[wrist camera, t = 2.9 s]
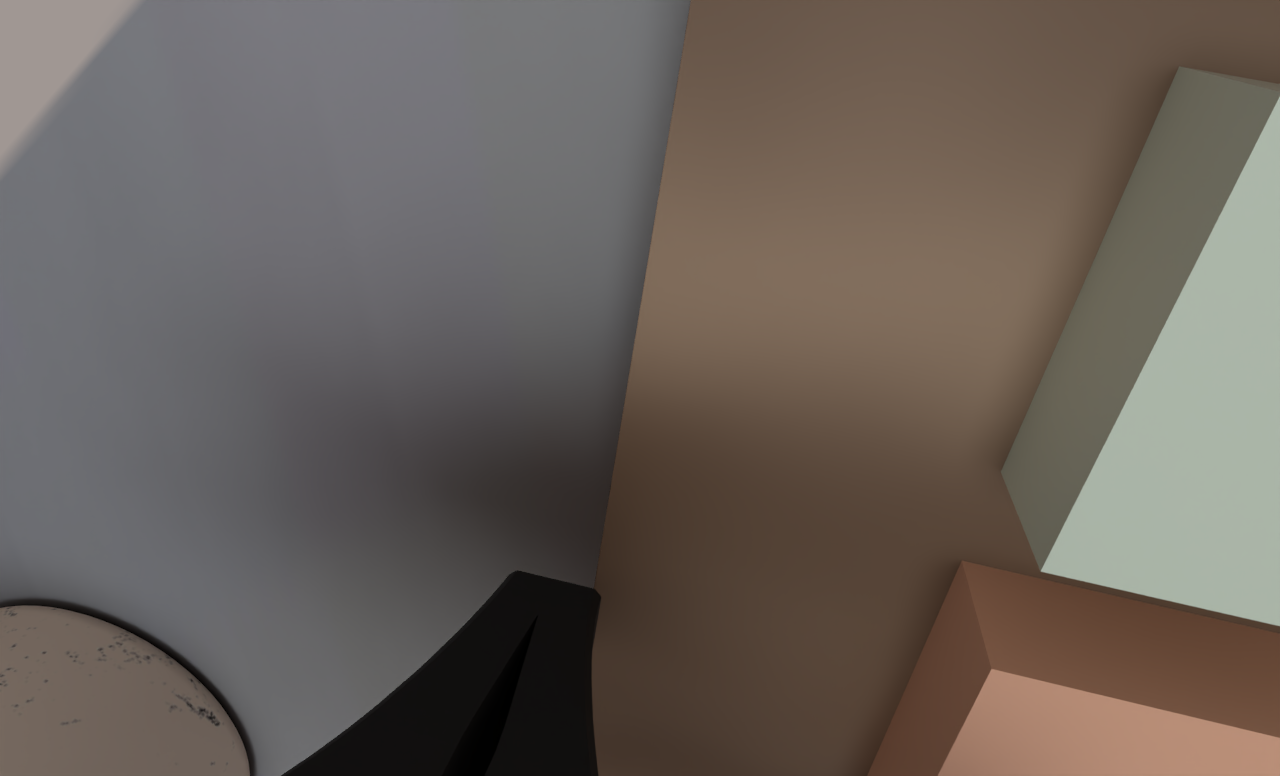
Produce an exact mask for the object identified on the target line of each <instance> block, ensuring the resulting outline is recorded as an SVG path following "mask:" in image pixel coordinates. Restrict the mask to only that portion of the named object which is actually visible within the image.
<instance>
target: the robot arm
mask: <svg viewBox="0 0 1280 776" xmlns="http://www.w3.org/2000/svg"><path fill="white" fill-rule="evenodd" d="M600 603H601V596H600V594H599V593H598V592H597V591H596V589H592V588H588V587H584V586H580V585H576V584H572V583H567V582H563V581H559V580H555V579H551V578H547V577H543V576H538V575H534V574H530V573H526V572H522V571H518V570H517V571H515V572H513V573H511V574H509V576H508V577H507V578H506V579H505V581H504V582H503V583H502V584H501V585H500V587H499V588H498V589H497V590H496V591H495V592H494V594H493V595H492V596H491V597H490V598H489V599H488V600H487V601H486V603H485V604H484V605H483V606H482V607H481V608H480V609H479V610H478V611H477V612H476V613H475V614H474V615H473V617H472V618H471V619H470V620H469V621H468V622H467V623H466V624H465V625H464V626H463V627H462V628H461V629H460V630H459V631H458V632H457V633H456V634H455V635H454V636H453V637H452V638H451V639H450V640H449V641H448V642H447V643H446V644H445V645H444V646H442V647H441V648H440V649H439V650H438V651H437V652H436V653H435V654H434V655H433V656H432V657H431V658H430V659H429V660H428V661H427V662H426V663H425V664H424V665H423V666H422V667H420V668H419V669H418V670H417V671H416V672H415V673H414V674H413V675H411V676H410V677H409V678H408V679H407V680H406V681H404V682H403V683H402V684H401V685H400V686H399V687H398V688H396V689H395V690H394V691H393V692H392V693H391V694H389V695H388V696H387V697H386V698H385V699H384V700H382V701H381V702H380V703H379V704H378V705H377V706H375V707H374V708H373V709H372V710H370V711H369V712H368V713H367V714H365V715H364V716H363V717H362V718H360V719H359V720H358V721H357V722H355V723H354V724H353V725H351V726H350V727H349V728H348V729H346V730H345V731H344V732H342V733H341V734H340V735H338V736H337V737H336V738H334V739H333V740H332V741H330V742H329V743H327V744H326V745H325V746H323V747H322V748H321V749H319V750H318V751H317V752H315V753H314V754H312V755H311V756H309V757H308V758H306V759H305V760H304V761H302V762H301V763H299V764H298V765H296V766H295V767H293V768H292V769H290V770H289V771H287V772H286V773H284V774H283V775H281V776H599V775H598V767H597V757H596V748H595V738H594V724H593V705H592V649H593V644H594V638H595V632H596V626H597V620H598V614H599V609H600Z"/></svg>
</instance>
